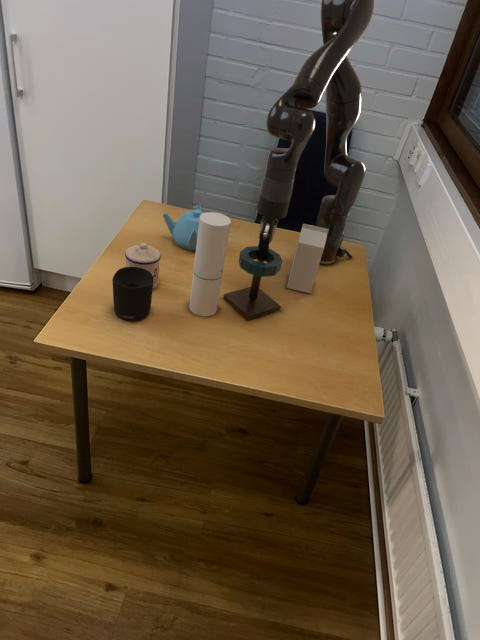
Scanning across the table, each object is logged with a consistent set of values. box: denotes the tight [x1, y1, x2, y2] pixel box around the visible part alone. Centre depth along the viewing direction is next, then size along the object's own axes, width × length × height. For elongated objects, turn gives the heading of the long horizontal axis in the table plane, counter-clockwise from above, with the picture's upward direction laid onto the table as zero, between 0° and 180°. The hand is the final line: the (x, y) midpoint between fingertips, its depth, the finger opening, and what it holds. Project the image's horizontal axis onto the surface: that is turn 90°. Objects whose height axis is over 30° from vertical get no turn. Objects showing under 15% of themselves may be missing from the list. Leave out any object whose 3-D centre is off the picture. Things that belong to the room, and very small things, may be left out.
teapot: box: [162, 205, 204, 252], centre depth 146 cm, size 15×15×11 cm
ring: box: [238, 245, 283, 278], centre depth 118 cm, size 11×11×3 cm
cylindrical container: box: [189, 211, 232, 317], centre depth 114 cm, size 7×7×25 cm
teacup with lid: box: [124, 242, 162, 290], centre depth 124 cm, size 12×9×12 cm
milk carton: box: [286, 223, 328, 294], centre depth 133 cm, size 7×7×19 cm
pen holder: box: [111, 266, 154, 322], centre depth 112 cm, size 9×9×10 cm
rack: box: [223, 259, 281, 322], centre depth 122 cm, size 11×11×14 cm
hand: (261, 257), depth 122 cm, fingers closed on ring, 2 cm apart
